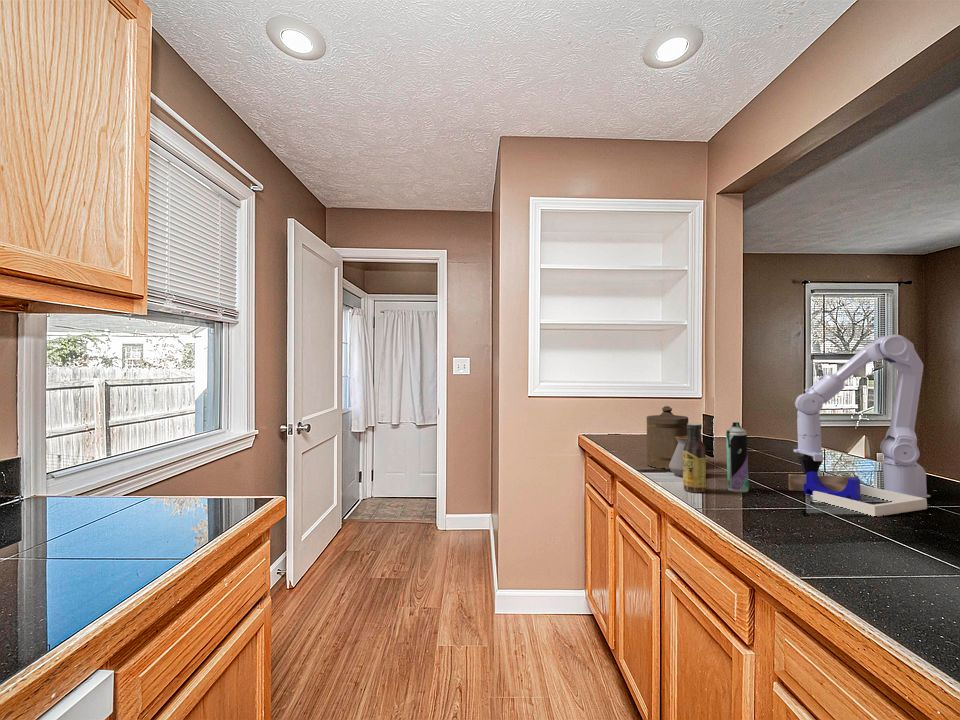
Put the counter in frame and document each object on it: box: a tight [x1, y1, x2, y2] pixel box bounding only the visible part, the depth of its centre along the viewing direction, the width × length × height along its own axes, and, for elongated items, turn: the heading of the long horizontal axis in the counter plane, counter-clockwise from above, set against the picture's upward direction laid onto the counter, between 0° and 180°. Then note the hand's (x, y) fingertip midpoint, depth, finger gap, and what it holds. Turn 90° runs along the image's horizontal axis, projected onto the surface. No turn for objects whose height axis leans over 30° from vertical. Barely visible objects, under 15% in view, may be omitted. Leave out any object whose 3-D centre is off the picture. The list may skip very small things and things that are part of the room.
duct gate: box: [788, 473, 854, 492], centre depth 145 cm, size 16×1×4 cm, turn 73°
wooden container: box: [646, 405, 689, 470], centre depth 187 cm, size 15×15×22 cm
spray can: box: [725, 421, 750, 493], centre depth 149 cm, size 6×6×20 cm
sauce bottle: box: [682, 422, 707, 493], centre depth 149 cm, size 7×6×20 cm
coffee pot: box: [669, 436, 687, 478], centre depth 166 cm, size 21×12×15 cm, turn 168°
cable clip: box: [803, 471, 862, 501], centre depth 139 cm, size 12×4×6 cm, turn 30°
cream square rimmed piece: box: [812, 475, 928, 517], centre depth 132 cm, size 18×18×5 cm
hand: (810, 481), depth 147 cm, fingers closed
